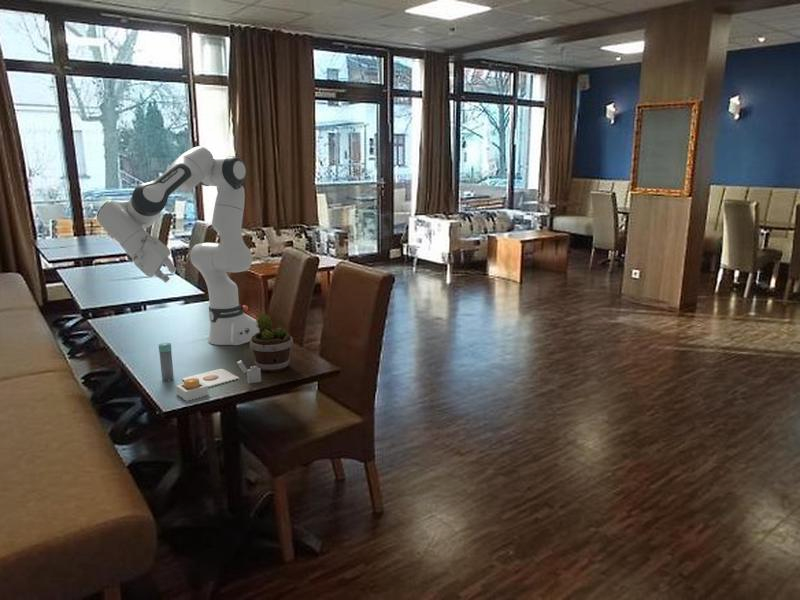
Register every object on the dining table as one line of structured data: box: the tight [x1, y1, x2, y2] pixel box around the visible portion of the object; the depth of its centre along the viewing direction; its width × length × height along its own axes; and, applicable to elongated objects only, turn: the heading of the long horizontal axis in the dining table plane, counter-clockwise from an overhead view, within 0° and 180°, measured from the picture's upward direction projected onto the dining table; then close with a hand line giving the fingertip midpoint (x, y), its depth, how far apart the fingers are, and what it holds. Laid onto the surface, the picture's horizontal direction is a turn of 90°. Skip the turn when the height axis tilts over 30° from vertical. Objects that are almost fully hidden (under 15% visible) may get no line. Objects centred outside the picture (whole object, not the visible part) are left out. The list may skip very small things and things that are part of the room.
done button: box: [183, 378, 200, 390], centre depth 178 cm, size 4×4×2 cm
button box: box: [175, 381, 209, 402], centre depth 179 cm, size 7×7×3 cm
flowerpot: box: [249, 311, 294, 373], centre depth 201 cm, size 14×15×20 cm
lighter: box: [236, 359, 262, 384], centre depth 188 cm, size 7×2×8 cm, turn 120°
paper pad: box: [181, 367, 240, 388], centre depth 191 cm, size 14×12×1 cm
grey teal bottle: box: [158, 342, 175, 382], centre depth 190 cm, size 4×4×12 cm
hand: (171, 276), depth 190 cm, fingers open, 8 cm apart
